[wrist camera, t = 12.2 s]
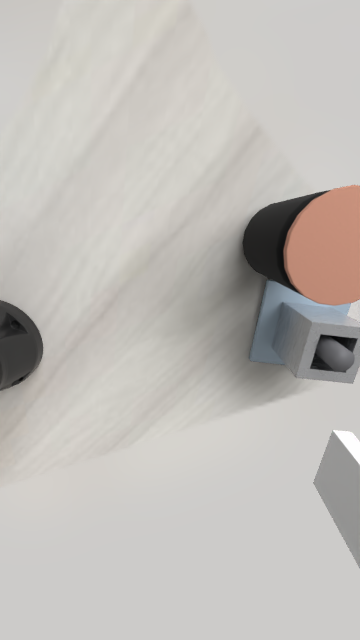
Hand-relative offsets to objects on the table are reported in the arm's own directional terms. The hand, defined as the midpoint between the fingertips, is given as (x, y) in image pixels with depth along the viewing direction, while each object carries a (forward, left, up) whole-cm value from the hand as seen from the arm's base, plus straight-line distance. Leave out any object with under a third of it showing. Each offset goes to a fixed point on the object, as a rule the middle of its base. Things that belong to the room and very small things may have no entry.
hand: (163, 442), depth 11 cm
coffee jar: (+15, +8, -35) cm, 39 cm away
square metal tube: (+22, -5, -34) cm, 40 cm away
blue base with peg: (+22, -5, -35) cm, 41 cm away
